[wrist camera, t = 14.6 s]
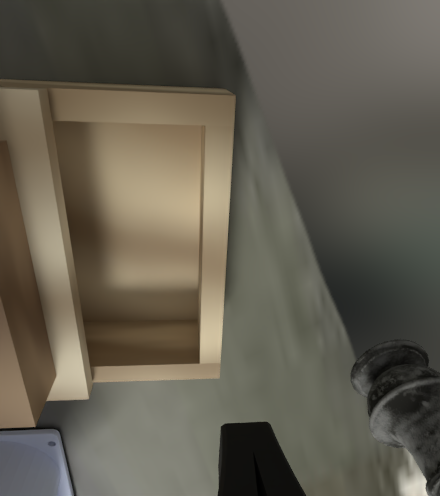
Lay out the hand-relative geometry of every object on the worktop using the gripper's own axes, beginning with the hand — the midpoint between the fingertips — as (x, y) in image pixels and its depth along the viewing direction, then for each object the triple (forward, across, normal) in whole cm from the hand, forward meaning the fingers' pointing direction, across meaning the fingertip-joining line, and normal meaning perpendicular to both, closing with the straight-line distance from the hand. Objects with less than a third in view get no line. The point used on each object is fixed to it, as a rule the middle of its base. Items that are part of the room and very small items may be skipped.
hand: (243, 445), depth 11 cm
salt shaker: (+11, -12, +8) cm, 18 cm away
